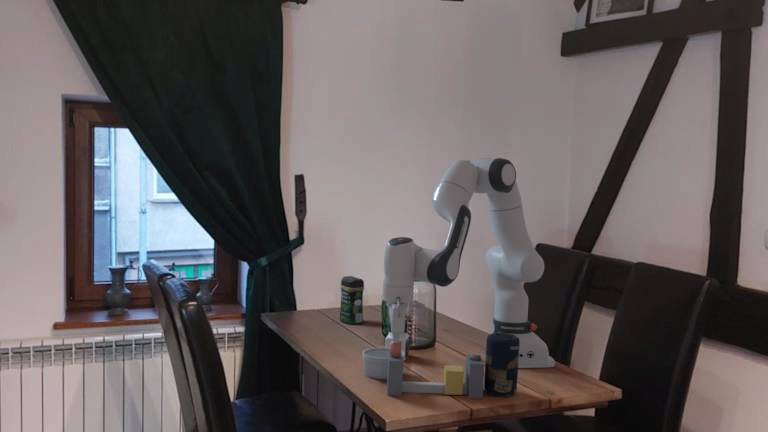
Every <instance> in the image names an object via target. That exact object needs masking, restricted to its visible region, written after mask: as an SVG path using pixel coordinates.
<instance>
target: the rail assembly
mask: <svg viewBox="0 0 768 432" xmlns="http://www.w3.org/2000/svg"><path fill="white" fill-rule="evenodd" d="M403 371H404V363H403V357H402V353H401V356H400V357H392V356H390V352H388V373H387V379H386V380H387V381H386V388H387V389H386V390H387V391H386V392H387V396H389V397H390V396H392V397H394V396H395V397H401V396H403V393H415V394H416V393H419V394H444V395H446V394H445V383H443V382H435V381H433V382H431V381H403V377H404V376H403V375H404V374H403V373H404V372H403ZM484 380H485V361H483V359H482V357H481V355H479V354H474V353H473V354H466V355H465V369H464V382H463V395H467V398H468V399H479V398H482V399H483V398H484V396H483V395H484Z"/></svg>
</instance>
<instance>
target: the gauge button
mask: <svg viewBox="0 0 768 432" xmlns="http://www.w3.org/2000/svg"><path fill="white" fill-rule="evenodd" d="M401 349H402V342H401V341H399V343H394V342H393V341H391V347H390V356H392V357H400V356H401Z"/></svg>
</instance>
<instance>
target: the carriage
mask: <svg viewBox="0 0 768 432" xmlns="http://www.w3.org/2000/svg"><path fill="white" fill-rule="evenodd" d="M443 367H444V368H443V382H442V383H445V394H444V395H454V396H455V395H457V396H463V395H464V394H463V383H464V378H465V370H463V366H462V365H444V366H443Z"/></svg>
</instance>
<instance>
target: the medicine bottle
mask: <svg viewBox="0 0 768 432" xmlns="http://www.w3.org/2000/svg"><path fill="white" fill-rule="evenodd" d="M410 338H411V336H410V334H408V324H407V322H405V331H404V334H400V339H399V341H401V342H402V349H401V351H403V352H404V353H405V359H404V361H406V360H407V358H408V357H409V355H410ZM391 341H393V333H392V332H391V323H390V322H389V325H388V335H387V336H386V337H385V343H384V348H390V347H391Z"/></svg>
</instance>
